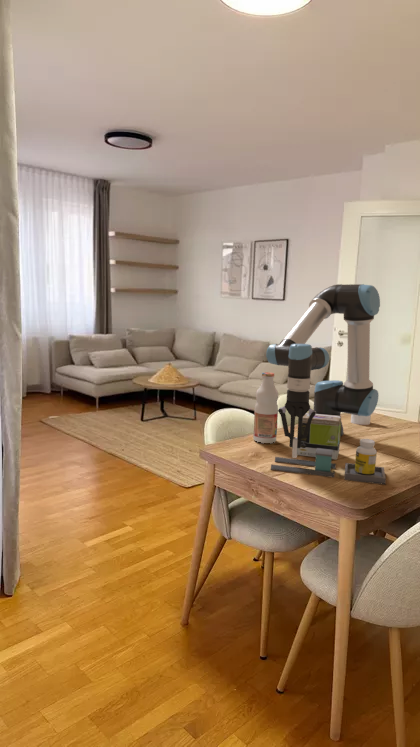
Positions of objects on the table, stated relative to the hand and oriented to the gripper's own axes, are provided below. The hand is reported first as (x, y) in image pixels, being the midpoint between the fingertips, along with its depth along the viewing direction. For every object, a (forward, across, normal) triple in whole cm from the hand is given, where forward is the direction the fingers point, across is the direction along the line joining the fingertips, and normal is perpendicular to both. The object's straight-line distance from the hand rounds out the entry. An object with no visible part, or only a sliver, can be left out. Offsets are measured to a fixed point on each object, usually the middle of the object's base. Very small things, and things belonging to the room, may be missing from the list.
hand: (294, 456), depth 174 cm
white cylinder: (+5, +23, +78) cm, 81 cm away
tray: (+4, +23, -1) cm, 24 cm away
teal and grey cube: (+4, +10, -1) cm, 11 cm away
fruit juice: (+4, -15, +28) cm, 32 cm away
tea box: (+4, +7, +18) cm, 20 cm away
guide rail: (+4, +3, -1) cm, 5 cm away
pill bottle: (+3, +23, -1) cm, 24 cm away
